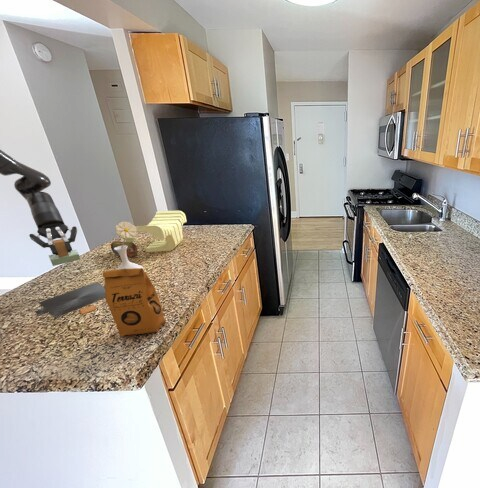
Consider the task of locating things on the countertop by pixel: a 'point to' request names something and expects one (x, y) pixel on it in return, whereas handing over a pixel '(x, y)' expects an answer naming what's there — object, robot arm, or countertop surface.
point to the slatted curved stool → (165, 230)
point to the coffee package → (133, 301)
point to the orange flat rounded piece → (88, 309)
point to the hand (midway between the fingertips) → (63, 252)
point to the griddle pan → (72, 300)
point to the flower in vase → (126, 232)
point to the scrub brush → (63, 254)
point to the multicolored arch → (130, 249)
